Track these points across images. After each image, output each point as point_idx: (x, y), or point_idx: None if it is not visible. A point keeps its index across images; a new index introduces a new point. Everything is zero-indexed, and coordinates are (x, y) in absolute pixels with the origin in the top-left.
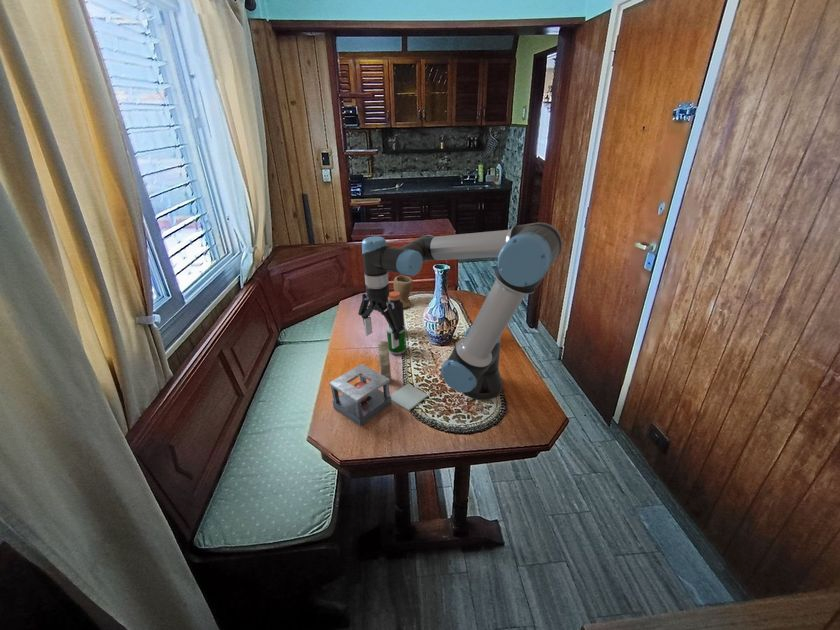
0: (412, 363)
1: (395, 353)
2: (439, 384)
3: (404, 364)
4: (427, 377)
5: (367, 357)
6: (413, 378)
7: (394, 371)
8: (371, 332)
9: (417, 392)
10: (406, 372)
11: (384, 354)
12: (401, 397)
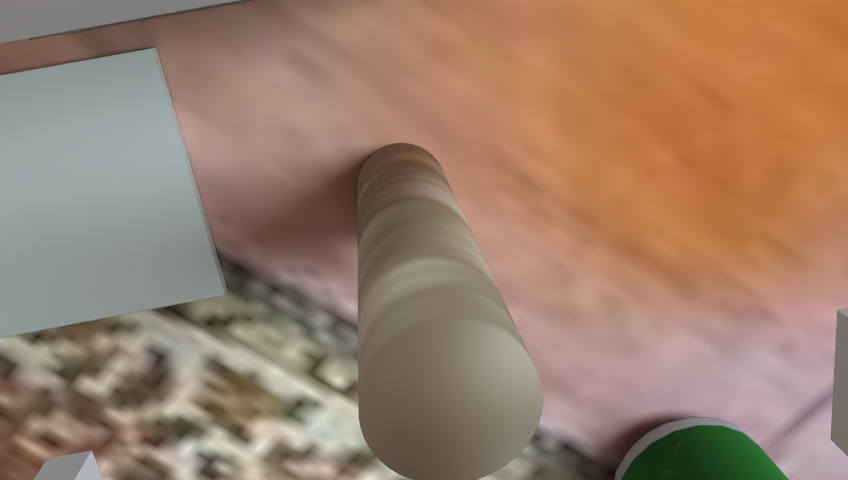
0: None
1: (644, 439)
2: None
3: None
4: (215, 455)
5: (805, 239)
6: (274, 370)
7: None
8: (844, 431)
9: (59, 291)
10: None
11: (363, 301)
12: (74, 147)
